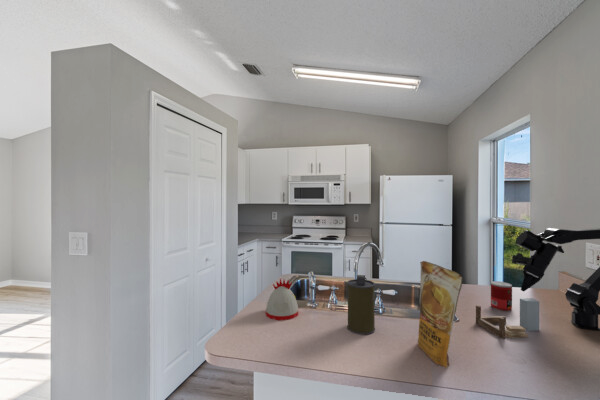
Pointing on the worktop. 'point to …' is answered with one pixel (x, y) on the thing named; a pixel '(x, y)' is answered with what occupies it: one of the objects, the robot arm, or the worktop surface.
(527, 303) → the grey rectangular block
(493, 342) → the worktop surface
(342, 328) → the worktop surface
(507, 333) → the offcut stack
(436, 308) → the pancake mix bag
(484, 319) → the rack
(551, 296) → the worktop surface
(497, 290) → the canned food
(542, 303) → the worktop surface
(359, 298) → the canister
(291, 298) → the beanie hat
